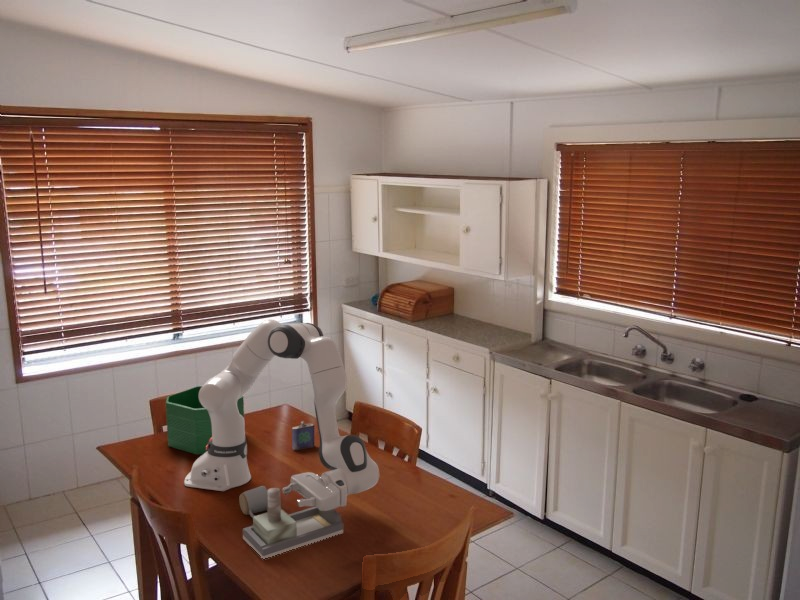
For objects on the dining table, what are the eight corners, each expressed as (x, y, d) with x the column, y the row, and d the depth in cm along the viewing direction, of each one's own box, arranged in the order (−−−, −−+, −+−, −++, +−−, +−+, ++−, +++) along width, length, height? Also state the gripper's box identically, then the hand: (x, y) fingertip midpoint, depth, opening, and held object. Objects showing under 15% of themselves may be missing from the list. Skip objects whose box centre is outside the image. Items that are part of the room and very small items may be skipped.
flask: (293, 451, 269) (293, 424, 268) (290, 448, 272) (290, 422, 270) (315, 446, 274) (315, 420, 272) (312, 444, 277) (312, 418, 275)
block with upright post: (268, 549, 197) (266, 501, 195) (253, 534, 205) (252, 488, 203) (296, 539, 203) (295, 493, 200) (281, 525, 211) (280, 480, 208)
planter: (207, 423, 298) (205, 382, 294) (253, 435, 285) (252, 393, 281) (158, 443, 276) (156, 399, 272) (206, 457, 263) (204, 411, 259)
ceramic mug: (238, 510, 223) (237, 487, 221) (262, 503, 227) (261, 481, 226) (251, 524, 214) (250, 501, 213) (275, 517, 219) (275, 494, 217)
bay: (263, 560, 195) (262, 543, 194) (242, 538, 206) (242, 522, 205) (343, 532, 210) (343, 517, 209) (320, 514, 221) (320, 498, 220)
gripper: (314, 464, 221) (274, 474, 213) (348, 488, 204) (307, 500, 196) (315, 482, 222) (275, 493, 214) (348, 508, 206) (307, 521, 198)
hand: (290, 497), depth 205 cm, fingers open, 8 cm apart
